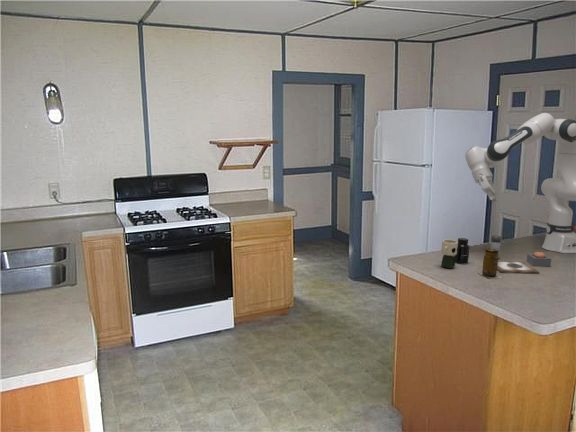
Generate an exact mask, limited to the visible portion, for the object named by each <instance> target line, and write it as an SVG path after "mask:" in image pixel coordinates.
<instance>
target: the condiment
mask: <svg viewBox="0 0 576 432" xmlns="http://www.w3.org/2000/svg"><path fill="white" fill-rule="evenodd" d="M497 255H498V250H496V249H490V248H486V249H485V251H484V254H483V264H482V271H481V272H478V275H481V276H483V277H485V278H487V279H503V278H504V277H503V276H501V275H499V274H498V273H497V272H498V271H497V265H498V261H499V260H498V256H497Z"/></svg>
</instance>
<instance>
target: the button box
mask: <svg viewBox="0 0 576 432" xmlns="http://www.w3.org/2000/svg"><path fill="white" fill-rule="evenodd" d="M525 263H527V264H529V265H530V266H532V267H544V268H546V267H549V268H550V267H551V266H552V258H551V257H549V256H548V255H546V254H544V258H536V257H534V253H527V254H526V261H525Z"/></svg>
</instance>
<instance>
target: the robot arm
mask: <svg viewBox="0 0 576 432" xmlns="http://www.w3.org/2000/svg"><path fill="white" fill-rule="evenodd" d="M541 138H542V139H543V138H544V139H545V140H553V141H558V148H557V155H556V161H555V169H556V170H557V171H558V172H560V174H561V177H560V178H559V177H551V178H546V179H544V180H543V182H542V184H541V187H540V190H541V192H542V194H543V195H544V196H545V198H546V200H547V203H548V207H549V212H548V213H549V214H548V222H547V224H546V233H545V238H544V242H543V244H542V245H541V248H542V249H544V250H547V251H551V252H558V253H560V254H561V253H562V254H576V232H575V231H576V225H575V226H574V225H573V224H572V222H573V215H574V212H573V210H572V208H571V207H570V206H569V204H568V203H567V201H570V202H576V120H575V119H572V118H571V119H570V118H568V119H567V118H556V119H555V118H554V116H553V115H552V114H551V113H547V112H542V113H539V114H537V115H535V116H533V117H532V118H530V119H528V120H526V121H525V122H523V123H522V124H521V125H520V126H519V127H518V128H517V129H516V130H515V132H512V133H511V134H509V135H508V136H506V137H503V138H501V139H497V140H494V141H491V142H490V143H489V145H488V147H487V148H486V147H480V146H478V145H475V146H473V147H470V149H468V150H467V151H466V153H465V161H466V163H467V166H468V168H469V170H470V171H471V175H472V178H473V180H474V182H475V183H476V184H478V185H479V186H480V187H481V190H482V191H483V192H484V193H485V194H486V195H487V196H488V198H489V200H490V201H492V202H493V203H497V199H496V194H497V191H496V188H495V186H494V185H495V184H494V183H493V177H494V175H493V173H492V171H491V169H494V168H497V167H498V166H500V164H501V163H502V162H503V161H504V160H505V159H506V158H507V157H508V155H509V154H510V152H511V150H512V149H514V148H515V147H517V146H518V145H520V144H522V143H523V144H526V145H530V144H533V143H534V142H536V141H538V140H540V139H541Z"/></svg>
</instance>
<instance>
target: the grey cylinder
mask: <svg viewBox="0 0 576 432" xmlns="http://www.w3.org/2000/svg"><path fill="white" fill-rule="evenodd" d="M501 242H502V236H500V235H493V234H492V235H491V236H490V248H489V249H496V250H498V255H497V256H498V261H500V260H499V259H500V251H501Z"/></svg>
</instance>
